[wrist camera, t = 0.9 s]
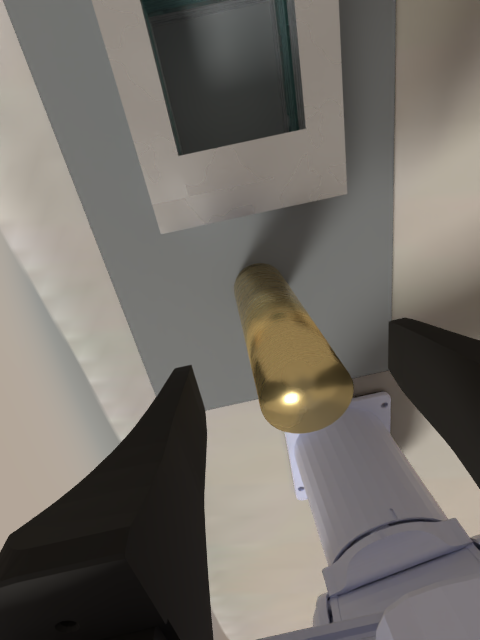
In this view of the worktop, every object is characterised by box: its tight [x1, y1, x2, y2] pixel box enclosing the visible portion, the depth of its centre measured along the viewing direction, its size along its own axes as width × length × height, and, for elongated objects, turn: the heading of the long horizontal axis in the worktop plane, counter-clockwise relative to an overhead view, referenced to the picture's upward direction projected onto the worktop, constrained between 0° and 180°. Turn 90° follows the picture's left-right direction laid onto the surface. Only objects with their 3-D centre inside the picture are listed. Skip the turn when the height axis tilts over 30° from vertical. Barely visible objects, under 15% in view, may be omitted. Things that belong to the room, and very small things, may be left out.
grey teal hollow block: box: [92, 0, 347, 234], centre depth 13 cm, size 13×8×4 cm, turn 11°
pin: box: [234, 263, 354, 434], centre depth 15 cm, size 3×3×10 cm
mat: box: [3, 0, 396, 411], centre depth 17 cm, size 26×16×1 cm, turn 11°
